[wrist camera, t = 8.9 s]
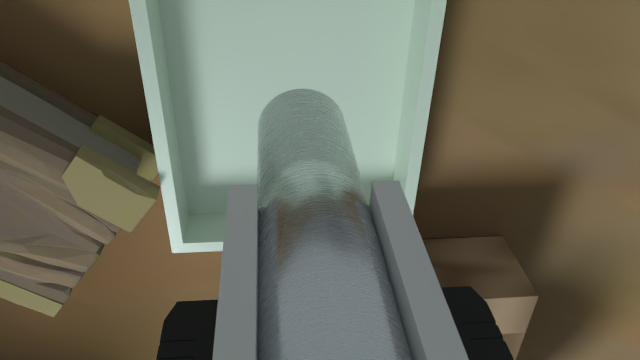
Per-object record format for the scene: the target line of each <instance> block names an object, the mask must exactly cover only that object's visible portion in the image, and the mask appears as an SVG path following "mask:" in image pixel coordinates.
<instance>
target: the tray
mask: <svg viewBox="0 0 640 360" xmlns="http://www.w3.org/2000/svg"><path fill="white" fill-rule="evenodd" d="M446 3H447V0H129V5H130V11H131V17H132V22H133V28H134V34H135V40H136V46H137V51H138V57H139V63H140V69H141V75H142V81H143V86H144V92H145V98H146V104H147V110H148V115H149V121H150V127H151V133H152V139H153V144H154V150H155V156H156V162H157V168H158V173H159V179H160V185H161V191H162V197H163V202H164V208H165V214H166V220H167V226H168V231H169V237H170V243H171V249H172V253H185V252H208V251H223V241H224V230H225V219H226V209H227V198H228V187H229V186H232V185H257V159H258V122H259V118H260V115H261V113H262V111H263V109H264V108H265V106H266V105H267V104H268V103H269V102H270V101H271V100H272V99H273V98H275V97H276V96H278V95H279V94H281V93H284V92H286V91H289V90H294V89H312V90H316V91H319V92H321V93H324V94H325V95H327V96H329V97H330V98H331V99H332V100H334V101H335V103H336V104H337V105H338V106H339V108H340V109H341V111H342V114H343V117H344V120H345V124H346V127H347V131H348V134H349V138H350V141H351V145H352V148H353V152H354V155H355V159H356V162H357V166H358V169H359V173H360V176H361V180H362V183H363V187H364V190H365V194H366V197H367V201H368V204H370V194H371V184H372V181H400V184H401V187H402V189H403V192H404V194H405V197H406V199H407V202H408V205H409V207H410V210H411V212H412V215H413V212H414V206H415V200H416V193H417V187H418V181H419V174H420V168H421V161H422V155H423V149H424V142H425V136H426V130H427V123H428V117H429V111H430V104H431V98H432V92H433V85H434V79H435V72H436V66H437V60H438V53H439V47H440V41H441V34H442V28H443V22H444V15H445V9H446Z"/></svg>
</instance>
